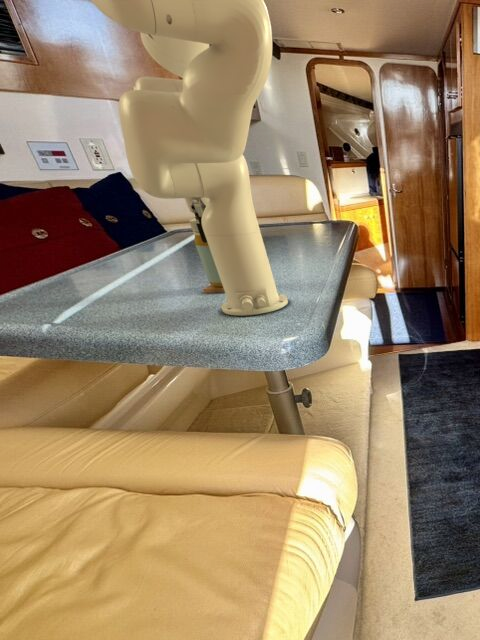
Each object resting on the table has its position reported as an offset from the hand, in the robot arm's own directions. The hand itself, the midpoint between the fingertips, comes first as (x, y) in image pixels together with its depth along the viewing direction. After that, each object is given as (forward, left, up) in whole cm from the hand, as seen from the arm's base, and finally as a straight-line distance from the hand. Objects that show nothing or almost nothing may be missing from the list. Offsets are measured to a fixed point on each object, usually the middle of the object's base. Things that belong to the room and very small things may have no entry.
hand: (212, 238), depth 94 cm
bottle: (0, 0, -11) cm, 11 cm away
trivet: (0, 0, -12) cm, 12 cm away
